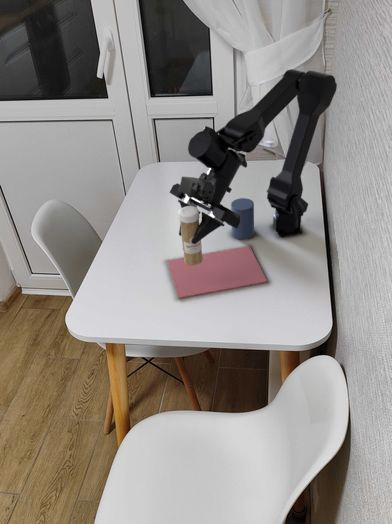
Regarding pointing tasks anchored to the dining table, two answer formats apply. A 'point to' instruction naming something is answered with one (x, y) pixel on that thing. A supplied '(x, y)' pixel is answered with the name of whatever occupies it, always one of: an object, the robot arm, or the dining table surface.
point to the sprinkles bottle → (190, 235)
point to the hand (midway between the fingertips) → (186, 239)
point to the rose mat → (216, 272)
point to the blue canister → (243, 218)
